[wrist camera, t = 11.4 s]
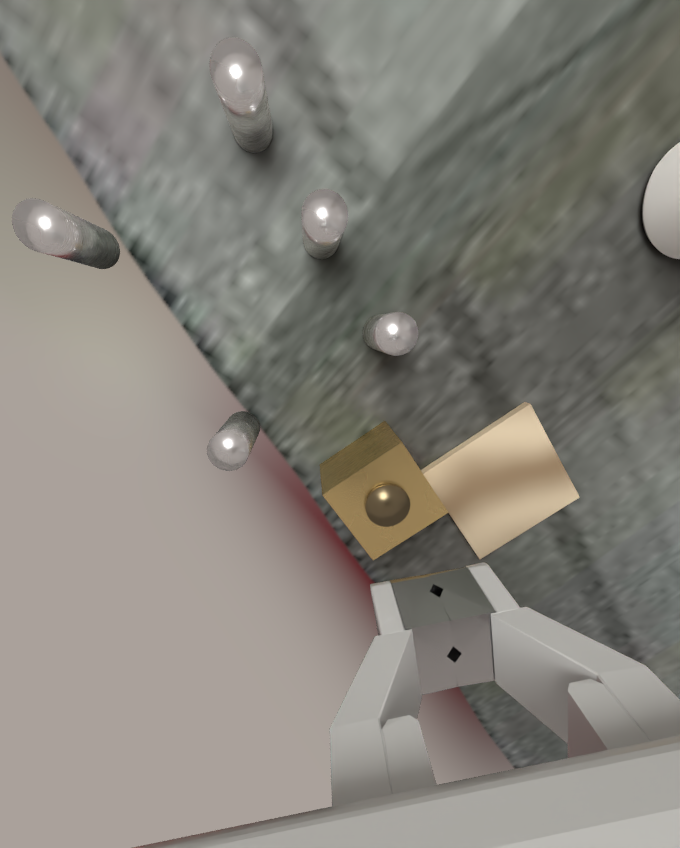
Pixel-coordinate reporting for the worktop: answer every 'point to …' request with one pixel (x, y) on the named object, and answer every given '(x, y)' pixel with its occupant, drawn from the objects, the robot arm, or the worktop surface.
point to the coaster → (501, 480)
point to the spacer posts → (253, 131)
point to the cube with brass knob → (379, 491)
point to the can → (664, 205)
